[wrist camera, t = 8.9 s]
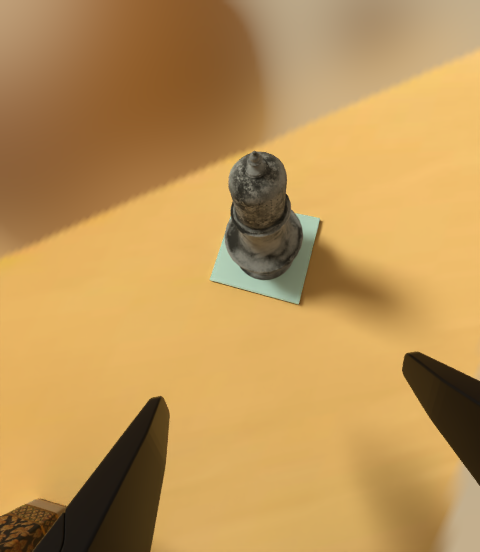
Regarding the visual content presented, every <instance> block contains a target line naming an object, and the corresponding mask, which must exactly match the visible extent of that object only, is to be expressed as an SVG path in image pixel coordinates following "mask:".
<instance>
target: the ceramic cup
mask: <svg viewBox="0 0 480 552" xmlns="http://www.w3.org/2000/svg"><path fill="white" fill-rule="evenodd" d="M65 509H66V507H64V506H61V505H58V504H55V503H51V502H48V501H45V500H41V499H36V500H33V501H31V502H29V503H27V504H25V505H22V506H20V507H18V508H16V509H15V510H13V511H11V512H9V513H7V514H5V515H2V516H0V552H32V551H33V550H34V548H35V547H36V546H37V545H38V543H39V542H40V541H41V540H42V538H43V537H44V536H45V534H46V533H47V532H48V531H49V529H50V528H51V527H52V526H53V524H54V523H55V522H56V520H57V519H58V518H59V516H60V515H61V514H62V513H63V512H65Z"/></svg>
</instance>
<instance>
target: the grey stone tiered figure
mask: <svg viewBox="0 0 480 552" xmlns="http://www.w3.org/2000/svg"><path fill="white" fill-rule="evenodd" d="M286 184H287V175H286V171H285V168H284V165H283V163H282V162H281V161H280V160H279V159H278V158H277V157H275V156H274V155H272V154H269V153H266V152H256V151H253V152H252V153H250V154H247V155H245V156H244V157H242V158H241V159H240V160H239V161H238V162H237V163H236V164H235V165H234V166H233V168H232V169H231V171H230V175H229V190H230V193H231V197H232V200H233V202H232V206H231V219H230V221H229V222H228V224H227V227H226V231H225V245H226V249H227V252H228V254H229V255H230V257H231V258H232V260H233V261H234V262H235V263H236V264H238V265H239V266H240V268H241V269H242V271H244V272H245V273H246V274H247V275H248V276H250V277H252V278H255V279H259V280H271V279H274V278H277V277H279V276H280V275H282V274H284V273H285V272H286V271H287V270H288V269H289V268H290V266H291V264H292V262H293V260H294V258H295V257H296V256H297V254H298V252H299V250H300V249H301V246H302V241H303V230H302V225H301V223H300V220H299V218H298V217H297V216H296V214H295V213H294V212H293V211H292V210H291V203H290V200H289V198H288V195H287V194H286Z"/></svg>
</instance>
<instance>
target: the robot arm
mask: <svg viewBox="0 0 480 552" xmlns="http://www.w3.org/2000/svg"><path fill="white" fill-rule="evenodd" d="M402 372H403V375H404V377H405V379H406V380H407V382H408V383H409V385H410V387H411V388H412V390H413V392H414V393H415V395H416V397H417V398H418V400H419V401H420V403H421V405H422V406H423V408H424V410H425V411H426V413H427V414H428V416H429V417H430V419H431V420H432V422H433V423H434V425H435V426H436V427H437V429H438V430H439V431H440V433H441V434H442V435H443V437H444V438H445V439H446V441H447V442H448V443H449V445H450V446H451V448H452V449H453V450H454V452H455V453H456V454H457V456H458V457H459V458H460V460H461V461H462V462H463V464H464V465H465V466H466V468H467V469H468V471H469V472H470V473H471V475H472V476H473V477H474V479H475V480H476V481H477V483H478V484H479V485H480V381H479V380H477V379H474V378H472V377H470V376H468V375H466V374H464V373H462V372H460V371H458V370H456V369H454V368H451V367H449V366H447V365H445V364H443V363H441V362H439V361H437V360H435V359H433V358H431V357H429V356H426V355H424V354H422V353H420V352H410V353H406V354H405V356H404V361H403V367H402ZM169 418H170V414H169V409H168V407H167V405H166V403H165V400H164V398H163V397H162V396H158V397H153V398H151V399H150V400H149V401H148V402H147V403H146V405H145V406H144V407H143V409H142V410H141V411H140V412H139V414H138V415H137V416H136V418H135V419H134V420H133V422H132V423H131V424H130V425H129V427H128V428H127V429H126V431H125V432H124V433H123V435H122V436H121V437H120V438H119V440H118V441H117V442H116V444H115V445H114V446H113V448H112V449H111V450H110V452H109V453H108V454H107V455H106V457H105V458H104V459H103V461H102V462H101V463H100V465H99V466H98V467H97V468H96V470H95V471H94V472H93V474H92V475H91V476H90V478H89V479H88V480H87V481H86V483H85V484H84V485H83V487H82V488H81V489H80V491H79V492H78V493H77V494H76V496H75V497H74V498H73V500H72V501H71V502H70V504H69V505H68V506H67V507H66V509H65V512H63V513H62V514H61V515H60V516H59V518H58V519H57V520H56V522H55V523H54V524H53V526H52V527H51V528H50V529H49V531H48V532H47V533H46V534H45V536H44V537H43V538H42V540H41V541H40V542H39V543H38V545H37V546H36V547H35V548H34V550H33V551H32V552H150V550H151V545H152V539H153V533H154V528H155V522H156V517H157V511H158V505H159V500H160V494H161V488H162V483H163V477H164V471H165V465H166V455H167V443H168V430H169Z"/></svg>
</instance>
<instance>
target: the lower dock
mask: <svg viewBox="0 0 480 552" xmlns="http://www.w3.org/2000/svg"><path fill="white" fill-rule="evenodd" d="M295 214H296V213H295ZM296 216H297V217H298V218H299V220H300V223H301V225H302V230H303V241H302V246H301V249H300V250H299V252H298V254H297V256H296V257H295V258H294V260H293V262H292V264H291V266H290V268H289V269H288V270H287V271H286V272H285V273H284V274H282V275H280V276H279V277H277V278H274V279H271V280H259V279H255V278H252V277H250V276H248V275H247V274H246V273H245V272H244V271H242V269H241V268H240V266H239V265H238V264H236V263H235V262H234V261H233V260H232V258H231V257H230V255H229V254H228V252H227V249H226V245H225V235H224V238H223V241H222V244H221V247H220V250H219V253H218V256H217V259H216V262H215V265H214V268H213V271H212V274H211V277H210V281H214V282H218V283H221V284H225V285H229V286H232V287H236V288H240V289H243V290H247V291H251V292H254V293H258V294H261V295H265V296H269V297H272V298H276V299H280V300H283V301H287V302H291V303H294V304H299V301H300V297H301V293H302V289H303V285H304V281H305V277H306V273H307V269H308V265H309V261H310V257H311V253H312V249H313V245H314V241H315V237H316V233H317V229H318V225H319V221H320V218H316V217H311V216H306V215H301V214H296ZM230 219H231V217H230ZM229 221H230V220H229Z"/></svg>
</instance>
